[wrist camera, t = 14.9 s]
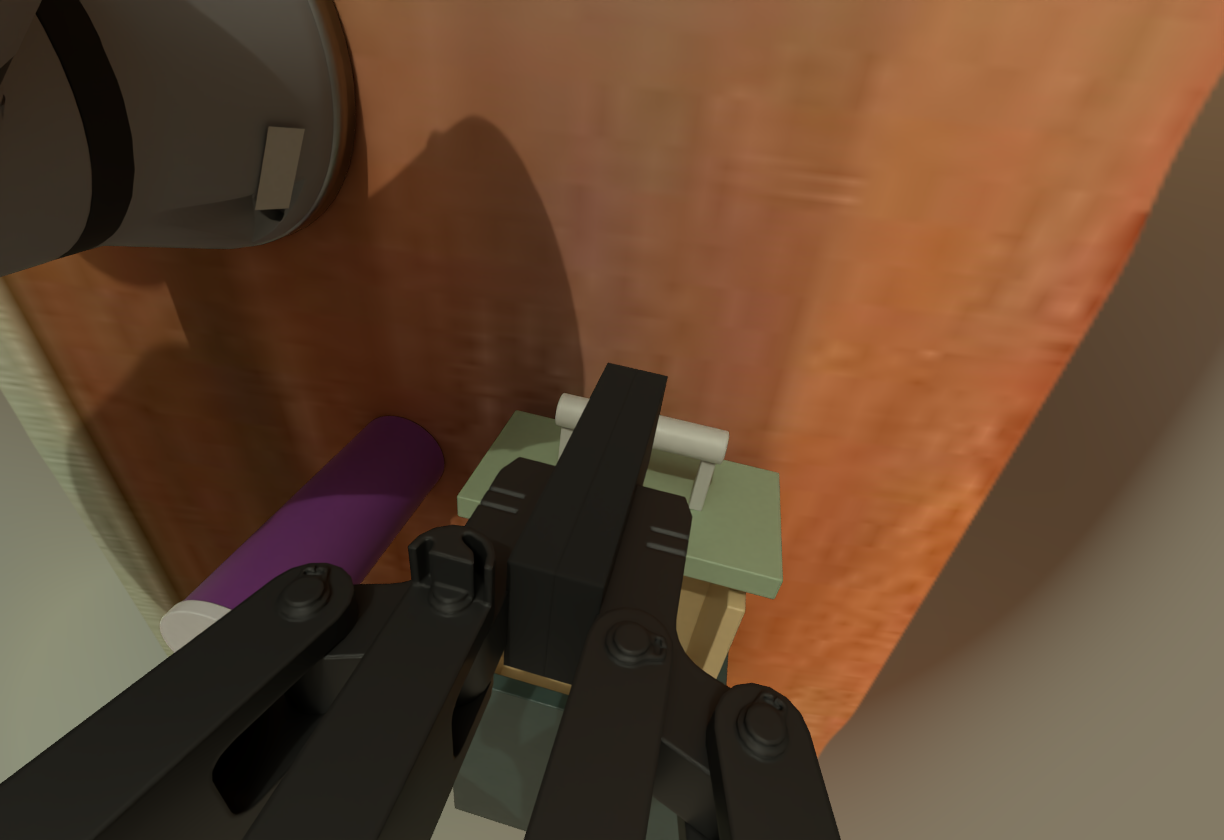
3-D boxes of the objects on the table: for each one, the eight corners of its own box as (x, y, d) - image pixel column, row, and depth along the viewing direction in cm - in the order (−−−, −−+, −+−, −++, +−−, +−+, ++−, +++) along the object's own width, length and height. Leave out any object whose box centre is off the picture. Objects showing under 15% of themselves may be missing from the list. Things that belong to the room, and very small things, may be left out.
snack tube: (357, 404, 33) (139, 596, 21) (444, 426, 32) (268, 635, 21) (368, 475, 36) (183, 675, 24) (448, 496, 35) (296, 711, 24)
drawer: (518, 337, 27) (452, 415, 21) (807, 402, 25) (819, 504, 20) (508, 599, 38) (464, 695, 32) (707, 655, 36) (697, 766, 31)
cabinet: (506, 552, 37) (444, 675, 30) (731, 613, 35) (722, 757, 28) (502, 691, 46) (454, 808, 39) (678, 743, 45) (662, 875, 38)
